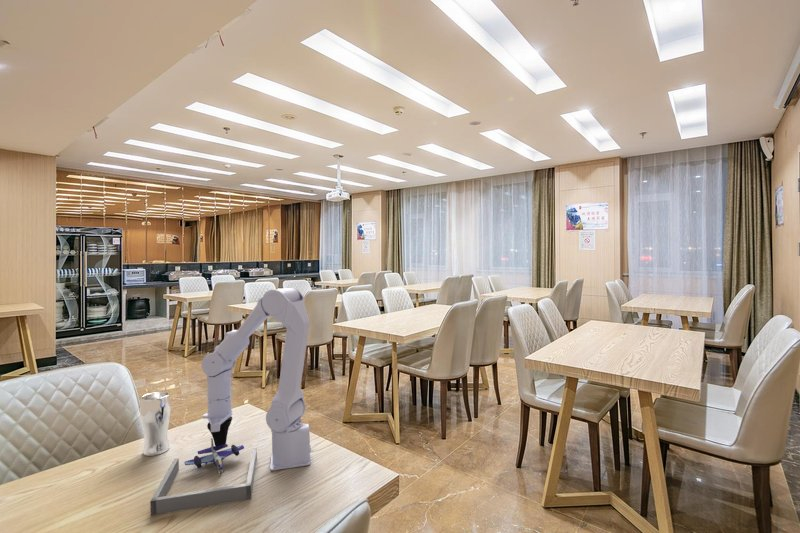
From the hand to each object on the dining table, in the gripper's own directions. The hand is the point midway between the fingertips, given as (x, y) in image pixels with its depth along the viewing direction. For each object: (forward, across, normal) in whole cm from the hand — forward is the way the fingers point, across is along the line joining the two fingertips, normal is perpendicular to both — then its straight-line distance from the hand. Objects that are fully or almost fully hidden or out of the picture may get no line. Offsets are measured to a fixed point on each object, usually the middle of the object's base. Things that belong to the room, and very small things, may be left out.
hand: (220, 447), depth 105 cm
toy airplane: (+2, +8, 0) cm, 8 cm away
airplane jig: (+2, +15, 0) cm, 15 cm away
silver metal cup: (+2, -7, -17) cm, 18 cm away
